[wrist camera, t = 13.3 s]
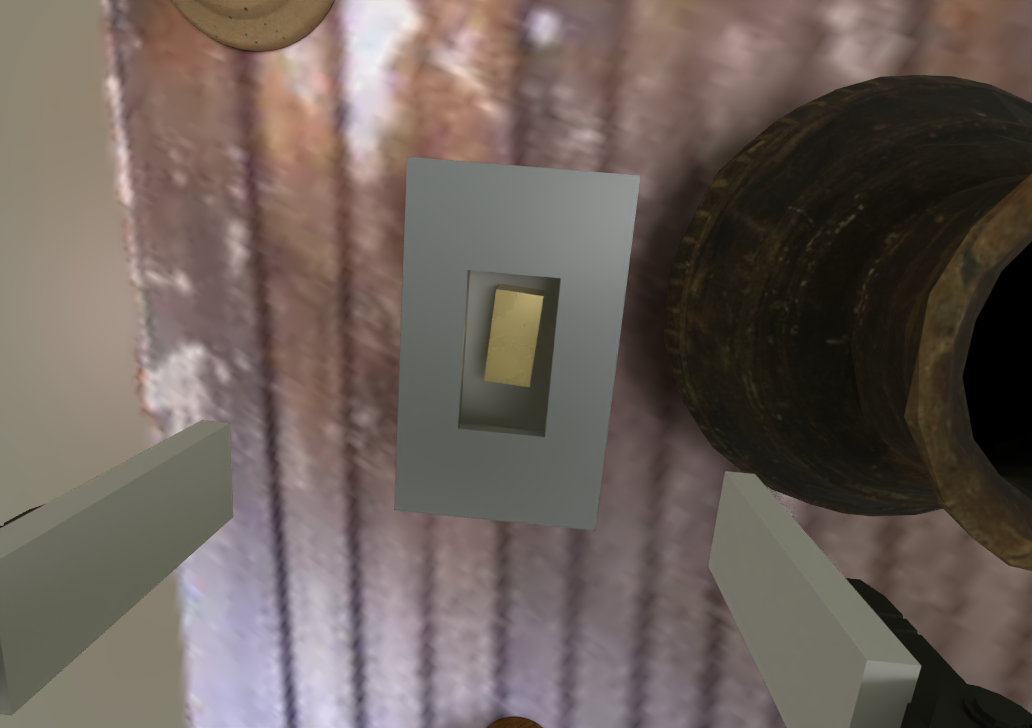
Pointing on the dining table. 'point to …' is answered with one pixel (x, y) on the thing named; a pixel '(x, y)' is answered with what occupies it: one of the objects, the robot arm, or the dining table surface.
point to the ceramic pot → (871, 306)
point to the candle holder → (255, 20)
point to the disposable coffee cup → (514, 723)
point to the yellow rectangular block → (513, 335)
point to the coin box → (466, 332)
